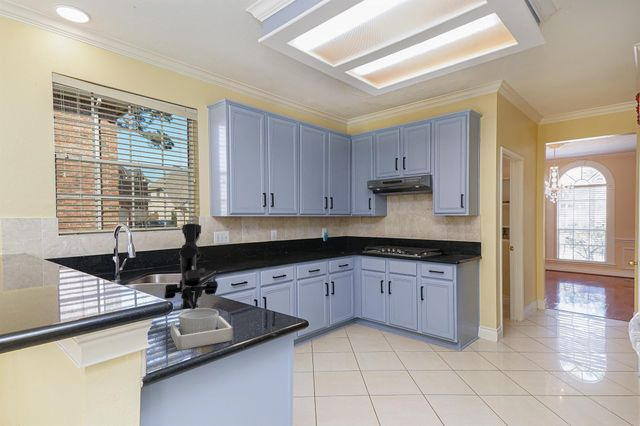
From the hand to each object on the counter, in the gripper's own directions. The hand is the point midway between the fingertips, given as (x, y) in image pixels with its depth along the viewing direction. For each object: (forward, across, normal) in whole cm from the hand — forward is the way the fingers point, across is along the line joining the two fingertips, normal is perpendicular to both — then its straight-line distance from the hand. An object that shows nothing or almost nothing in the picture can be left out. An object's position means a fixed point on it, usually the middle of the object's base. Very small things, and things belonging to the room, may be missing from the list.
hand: (194, 308), depth 121 cm
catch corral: (+13, 0, -3) cm, 13 cm away
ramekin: (+10, 0, +1) cm, 10 cm away
